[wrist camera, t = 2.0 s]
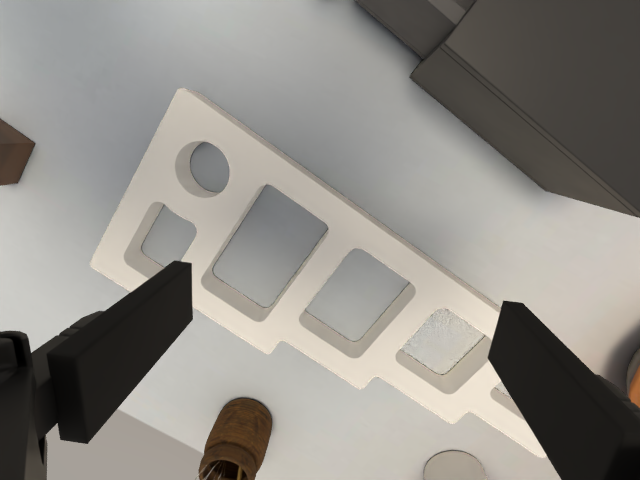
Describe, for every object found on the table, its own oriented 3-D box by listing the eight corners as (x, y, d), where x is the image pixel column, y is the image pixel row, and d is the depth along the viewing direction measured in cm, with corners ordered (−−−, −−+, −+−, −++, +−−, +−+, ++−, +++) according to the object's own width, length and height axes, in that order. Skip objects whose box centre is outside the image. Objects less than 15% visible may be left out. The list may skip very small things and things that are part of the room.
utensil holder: (252, 387, 37) (208, 500, 25) (285, 429, 38) (257, 556, 27) (209, 408, 38) (149, 525, 27) (242, 448, 40) (198, 577, 28)
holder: (598, 378, 33) (619, 398, 31) (467, 486, 38) (476, 511, 36) (194, 89, 29) (179, 85, 26) (108, 255, 34) (88, 265, 31)
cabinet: (408, 77, 27) (443, 43, 17) (521, -72, 24) (646, -224, 14) (545, 191, 29) (650, 221, 19) (668, 65, 26) (876, 20, 15)
